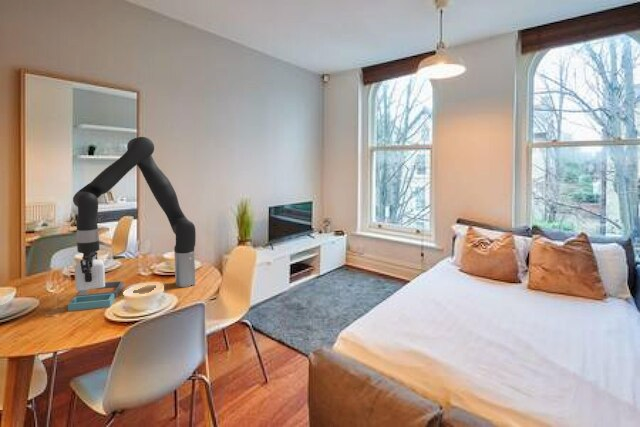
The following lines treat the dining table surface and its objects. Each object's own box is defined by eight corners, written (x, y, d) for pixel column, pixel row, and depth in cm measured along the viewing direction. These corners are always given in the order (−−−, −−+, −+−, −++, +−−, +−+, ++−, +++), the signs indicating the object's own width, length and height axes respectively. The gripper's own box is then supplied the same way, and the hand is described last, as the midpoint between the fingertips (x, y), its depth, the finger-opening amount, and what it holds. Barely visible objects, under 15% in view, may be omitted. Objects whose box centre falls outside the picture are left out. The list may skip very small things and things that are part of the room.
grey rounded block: (105, 284, 143) (103, 257, 141) (105, 287, 139) (103, 259, 137) (76, 288, 137) (74, 260, 135) (75, 292, 134) (73, 262, 132)
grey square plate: (123, 285, 162) (123, 280, 161) (116, 297, 148) (115, 292, 148) (87, 288, 157) (87, 283, 156) (77, 300, 143) (76, 295, 143)
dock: (114, 299, 145) (114, 293, 145) (110, 306, 138) (109, 300, 138) (75, 303, 140) (74, 296, 140) (68, 311, 133) (68, 304, 133)
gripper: (93, 243, 130) (96, 284, 132) (103, 235, 143) (105, 273, 146) (70, 244, 127) (73, 286, 130) (83, 236, 141) (85, 274, 143)
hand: (90, 279), depth 138 cm, fingers closed on grey rounded block, 5 cm apart
